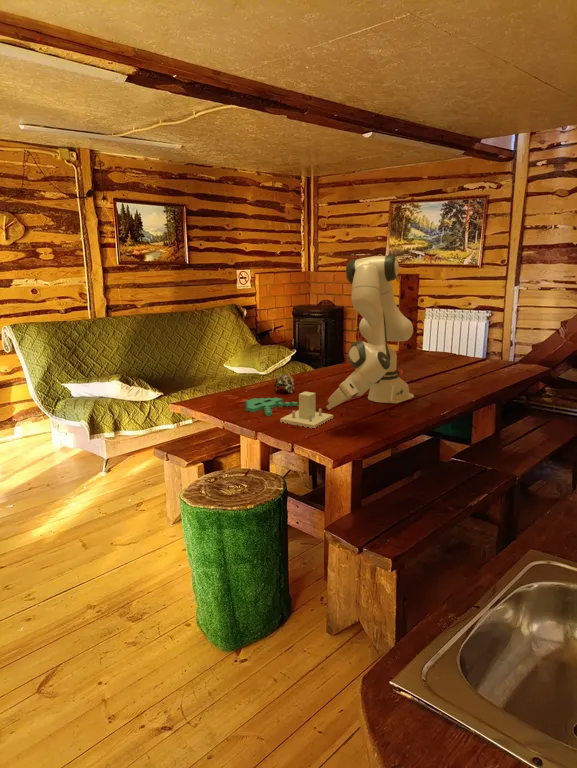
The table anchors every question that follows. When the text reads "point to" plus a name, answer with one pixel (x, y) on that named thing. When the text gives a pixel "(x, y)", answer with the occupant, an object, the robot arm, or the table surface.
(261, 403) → the alien figure
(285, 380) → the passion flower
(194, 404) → the table surface
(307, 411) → the beige rectangular block
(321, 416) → the pin plate
